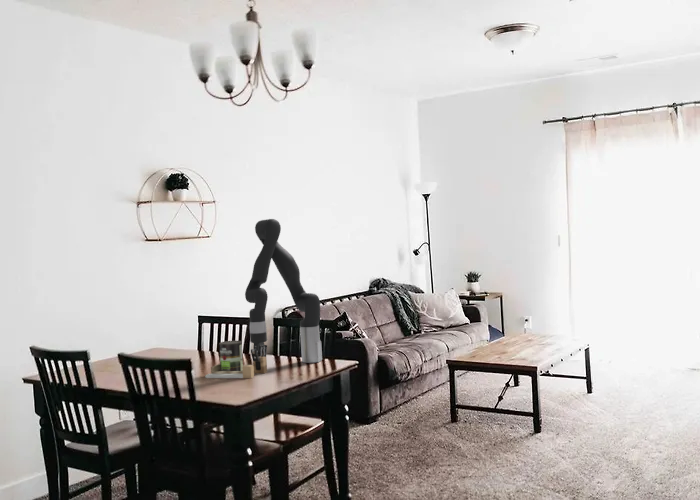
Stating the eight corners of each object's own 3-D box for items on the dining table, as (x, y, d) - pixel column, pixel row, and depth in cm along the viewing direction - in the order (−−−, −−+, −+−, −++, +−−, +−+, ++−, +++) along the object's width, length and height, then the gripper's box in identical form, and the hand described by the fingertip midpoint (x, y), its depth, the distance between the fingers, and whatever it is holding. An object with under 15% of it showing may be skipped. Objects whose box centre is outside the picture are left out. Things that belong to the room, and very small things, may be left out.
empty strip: (254, 376, 295) (253, 365, 295) (251, 378, 292) (250, 366, 292) (209, 376, 301) (208, 365, 301) (205, 377, 297) (205, 366, 297)
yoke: (272, 369, 310) (271, 354, 310) (259, 376, 295) (258, 360, 295) (226, 369, 316) (225, 354, 316) (211, 376, 301) (210, 360, 301)
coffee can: (234, 375, 300) (232, 344, 299) (216, 374, 304) (214, 343, 304) (248, 371, 309) (246, 340, 309) (230, 370, 314) (228, 340, 313)
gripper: (259, 333, 295) (261, 372, 295) (271, 329, 308) (273, 366, 309) (244, 333, 297) (246, 372, 297) (256, 329, 310) (258, 366, 311)
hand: (260, 369), depth 303 cm, fingers closed on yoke, 3 cm apart
